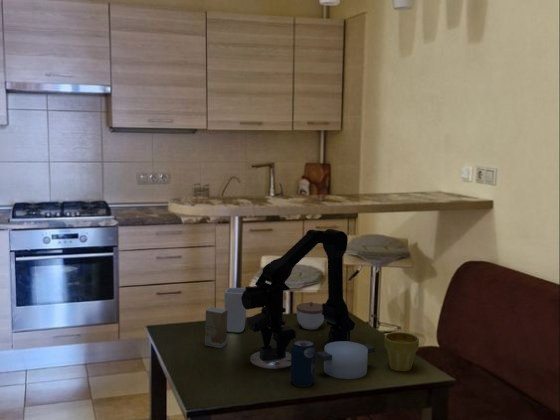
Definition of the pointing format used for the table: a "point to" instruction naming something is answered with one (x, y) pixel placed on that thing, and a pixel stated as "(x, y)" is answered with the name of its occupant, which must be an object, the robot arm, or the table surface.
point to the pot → (345, 359)
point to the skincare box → (216, 327)
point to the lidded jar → (310, 315)
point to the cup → (235, 310)
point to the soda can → (303, 363)
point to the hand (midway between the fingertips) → (272, 352)
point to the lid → (270, 358)
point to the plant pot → (401, 350)
